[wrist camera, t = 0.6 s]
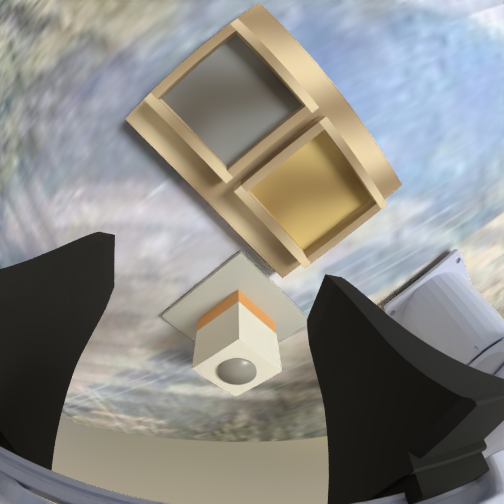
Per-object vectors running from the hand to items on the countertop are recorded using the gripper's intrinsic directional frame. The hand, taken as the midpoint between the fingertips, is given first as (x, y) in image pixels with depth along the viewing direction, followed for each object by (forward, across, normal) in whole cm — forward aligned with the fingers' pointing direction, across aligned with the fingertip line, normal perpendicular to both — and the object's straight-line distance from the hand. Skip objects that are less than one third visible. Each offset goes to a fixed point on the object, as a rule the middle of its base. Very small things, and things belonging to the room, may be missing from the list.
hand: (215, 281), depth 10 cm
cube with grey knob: (+9, -2, +9) cm, 13 cm away
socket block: (+10, -2, -4) cm, 11 cm away
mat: (+10, -2, +9) cm, 14 cm away
